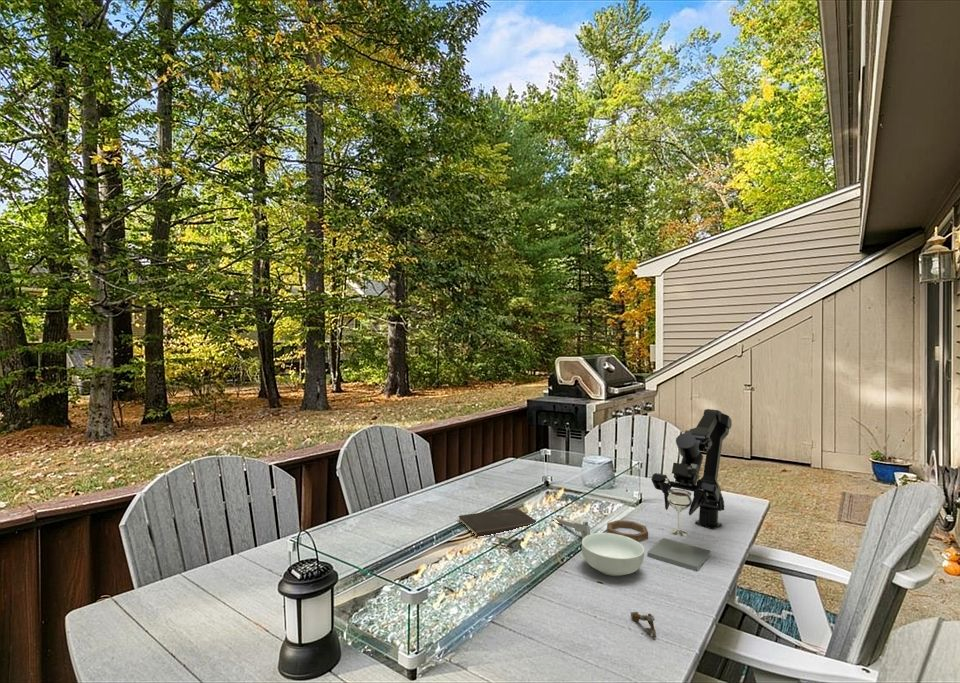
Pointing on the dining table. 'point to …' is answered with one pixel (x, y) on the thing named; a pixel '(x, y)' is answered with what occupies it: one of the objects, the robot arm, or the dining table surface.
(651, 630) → the wooden post with brackets
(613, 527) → the ring holder
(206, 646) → the dining table surface
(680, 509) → the wineglass
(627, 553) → the cereal bowl
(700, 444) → the robot arm
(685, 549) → the slate board
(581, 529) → the caliper
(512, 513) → the hardcover book
